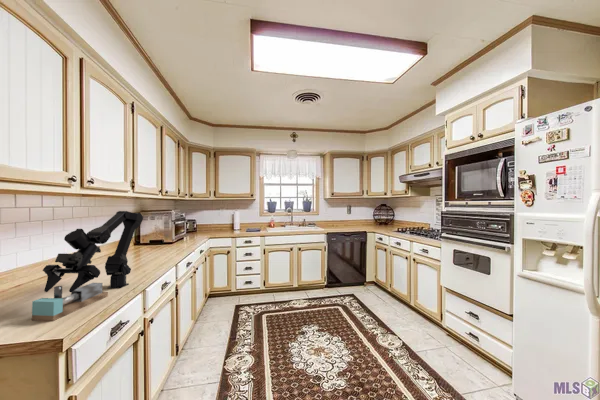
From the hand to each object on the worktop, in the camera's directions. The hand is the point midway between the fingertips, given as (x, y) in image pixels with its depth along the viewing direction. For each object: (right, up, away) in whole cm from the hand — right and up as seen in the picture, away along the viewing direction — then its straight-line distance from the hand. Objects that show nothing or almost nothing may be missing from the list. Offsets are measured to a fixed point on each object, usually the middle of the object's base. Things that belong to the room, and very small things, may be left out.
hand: (57, 291), depth 93 cm
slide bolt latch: (0, -9, +7) cm, 11 cm away
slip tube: (0, -6, +3) cm, 7 cm away
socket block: (0, -7, -4) cm, 7 cm away
